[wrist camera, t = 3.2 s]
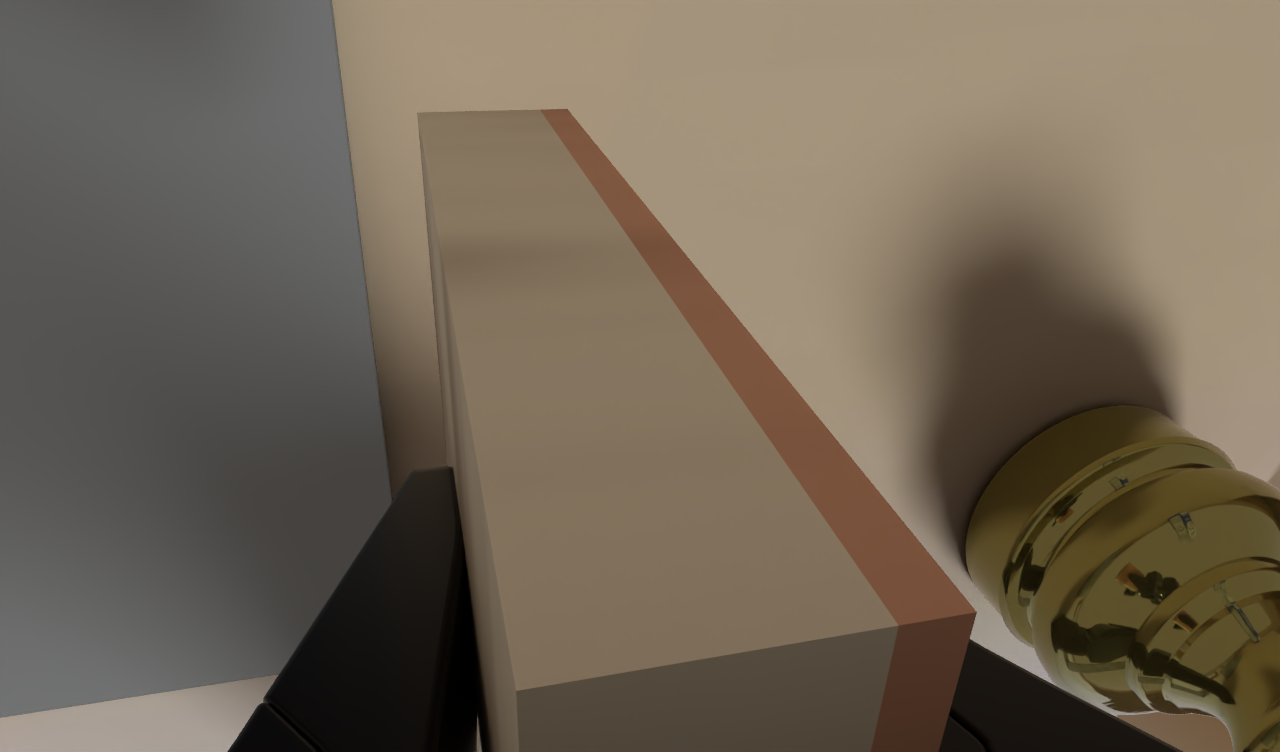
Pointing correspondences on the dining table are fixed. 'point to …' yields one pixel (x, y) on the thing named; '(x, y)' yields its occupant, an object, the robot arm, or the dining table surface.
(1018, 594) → the olive tall rounded piece
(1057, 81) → the dining table surface
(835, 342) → the dining table surface
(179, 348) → the mat
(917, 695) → the tile
